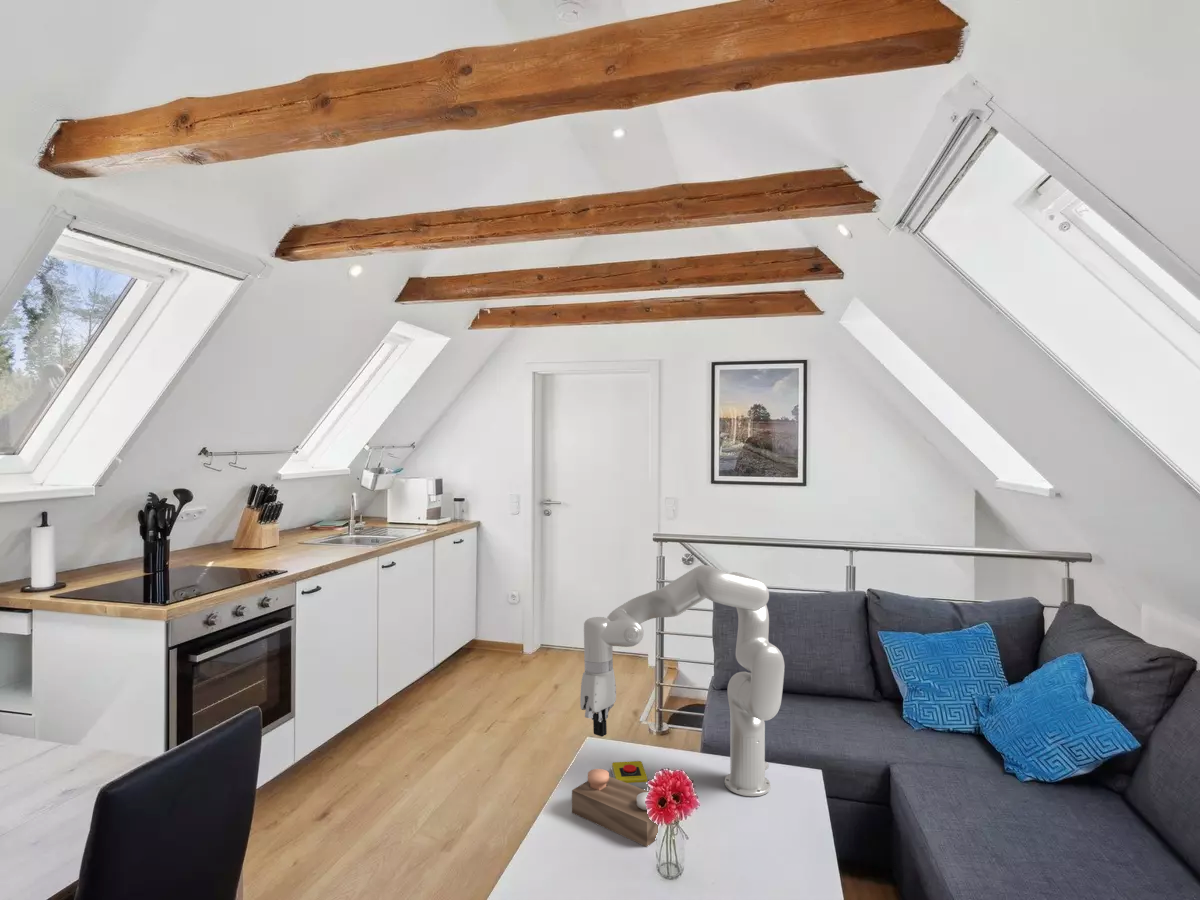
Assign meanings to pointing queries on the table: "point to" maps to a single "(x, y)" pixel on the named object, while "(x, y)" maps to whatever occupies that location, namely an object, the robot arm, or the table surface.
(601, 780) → the peach round knob
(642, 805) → the white glossy ovoid
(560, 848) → the table surface
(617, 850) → the table surface
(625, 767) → the emergency button
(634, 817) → the press console
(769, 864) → the table surface
